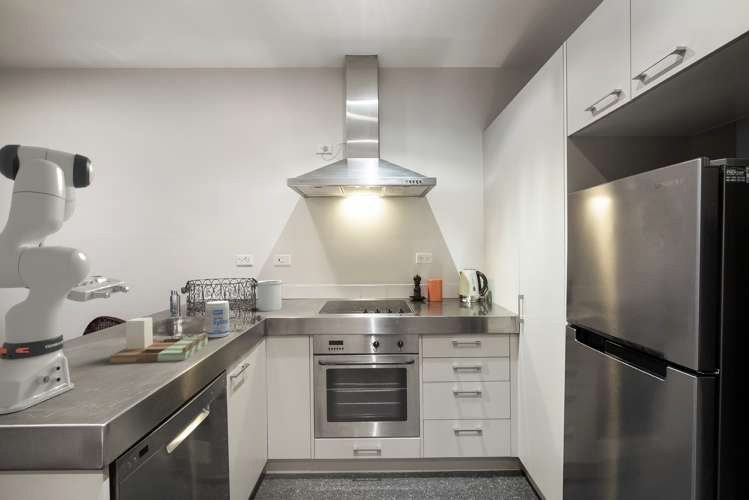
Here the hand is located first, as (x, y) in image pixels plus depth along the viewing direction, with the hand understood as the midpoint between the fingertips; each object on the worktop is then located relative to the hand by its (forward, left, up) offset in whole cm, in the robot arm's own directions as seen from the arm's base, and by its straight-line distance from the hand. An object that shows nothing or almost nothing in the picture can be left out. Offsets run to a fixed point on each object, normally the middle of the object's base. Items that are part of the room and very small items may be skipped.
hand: (118, 292), depth 134 cm
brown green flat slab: (-1, -15, -22) cm, 27 cm away
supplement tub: (+23, -27, -23) cm, 42 cm away
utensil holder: (+90, -38, -23) cm, 101 cm away
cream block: (-1, -7, -20) cm, 21 cm away
